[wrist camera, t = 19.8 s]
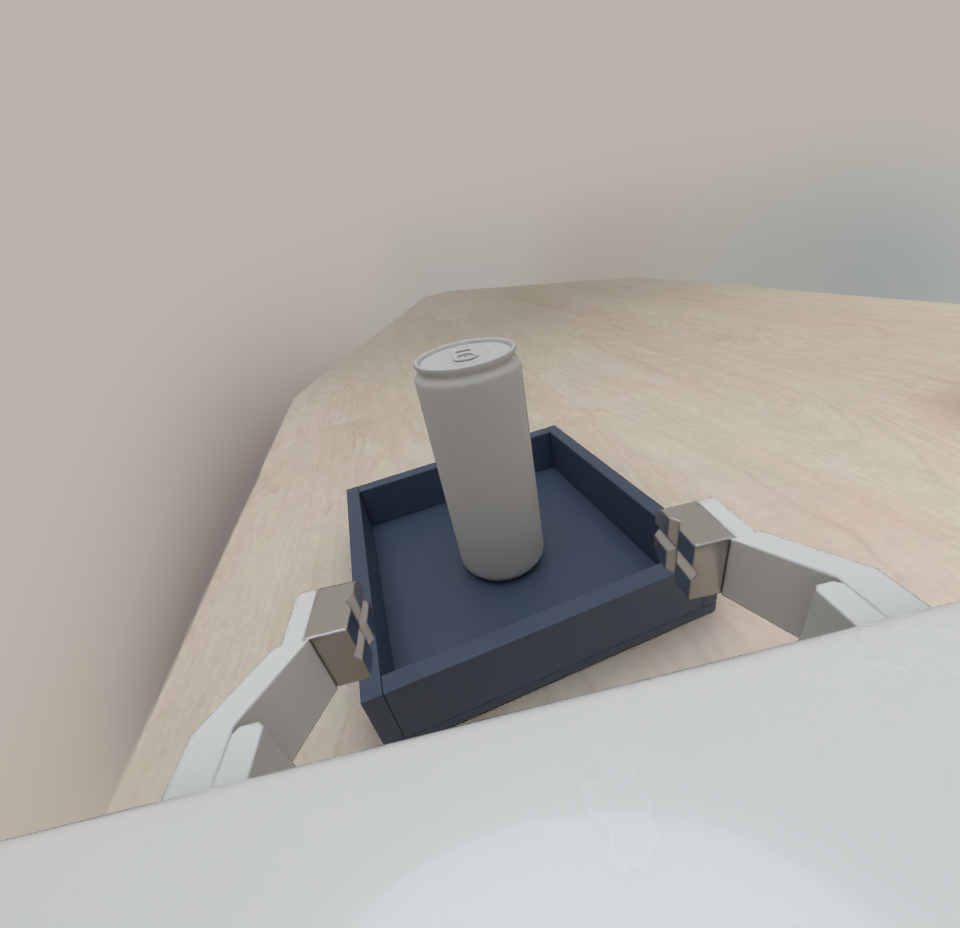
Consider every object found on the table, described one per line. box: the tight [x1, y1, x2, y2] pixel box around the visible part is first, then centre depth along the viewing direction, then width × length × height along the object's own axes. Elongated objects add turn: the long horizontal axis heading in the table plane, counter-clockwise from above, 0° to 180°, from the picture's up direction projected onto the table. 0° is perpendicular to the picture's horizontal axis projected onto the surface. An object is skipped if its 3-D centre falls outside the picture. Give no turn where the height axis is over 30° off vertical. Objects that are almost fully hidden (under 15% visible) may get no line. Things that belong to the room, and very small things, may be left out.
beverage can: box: [413, 337, 544, 581], centre depth 21 cm, size 5×5×12 cm
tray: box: [347, 426, 717, 745], centre depth 23 cm, size 16×16×4 cm
